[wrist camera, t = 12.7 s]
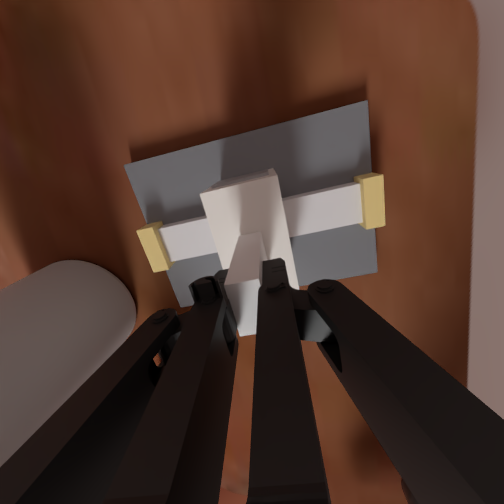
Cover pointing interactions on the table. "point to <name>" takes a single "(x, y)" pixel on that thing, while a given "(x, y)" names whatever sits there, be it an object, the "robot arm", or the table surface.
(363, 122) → the rail panel
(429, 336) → the table surface
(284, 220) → the block
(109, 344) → the cylinder vase
